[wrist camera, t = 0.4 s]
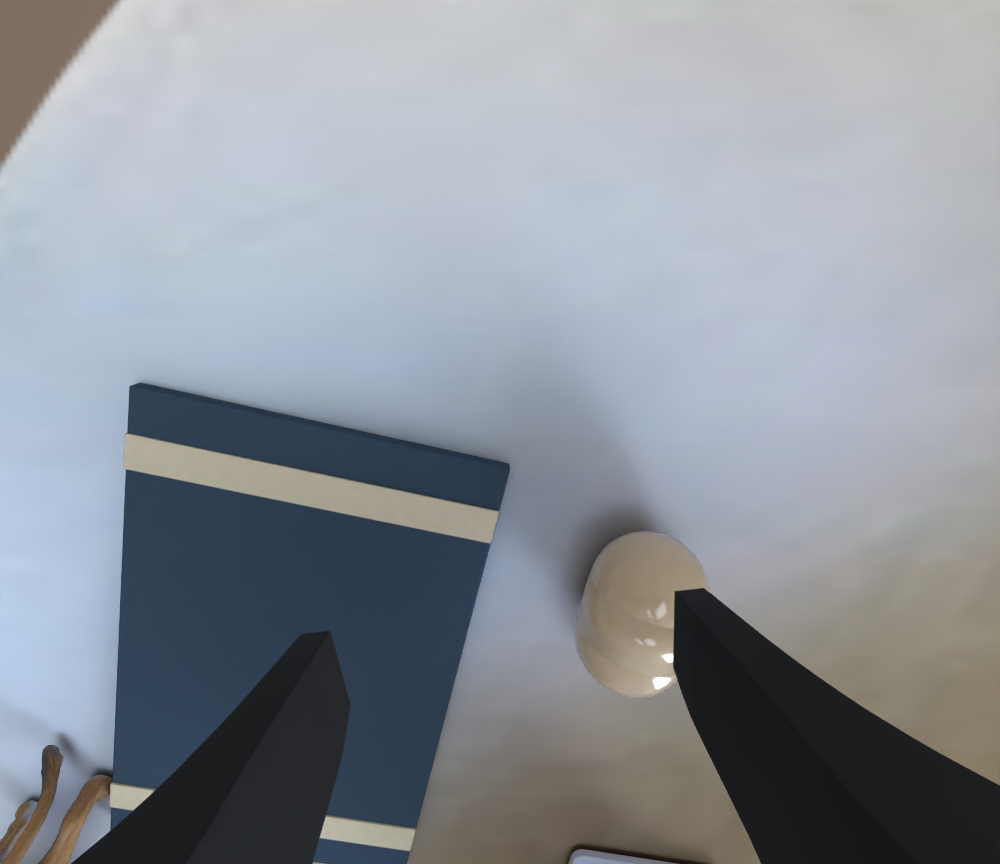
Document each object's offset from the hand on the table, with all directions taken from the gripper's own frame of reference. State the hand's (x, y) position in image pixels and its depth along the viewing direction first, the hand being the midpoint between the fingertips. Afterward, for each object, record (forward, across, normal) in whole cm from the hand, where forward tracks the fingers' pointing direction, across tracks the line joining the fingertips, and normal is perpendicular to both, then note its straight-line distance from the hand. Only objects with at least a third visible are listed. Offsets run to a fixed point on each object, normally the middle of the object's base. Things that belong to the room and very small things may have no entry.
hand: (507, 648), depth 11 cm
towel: (+10, +10, +8) cm, 16 cm away
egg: (+10, -5, +6) cm, 12 cm away
